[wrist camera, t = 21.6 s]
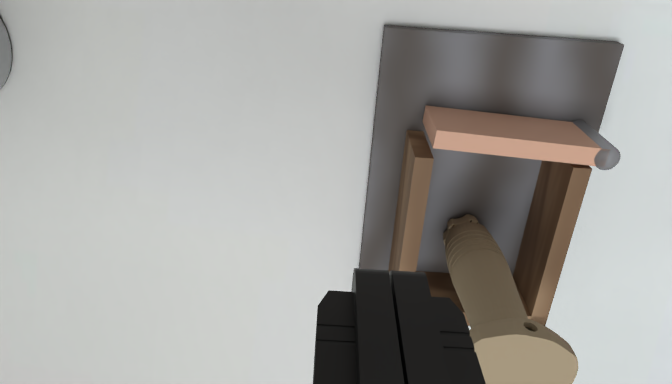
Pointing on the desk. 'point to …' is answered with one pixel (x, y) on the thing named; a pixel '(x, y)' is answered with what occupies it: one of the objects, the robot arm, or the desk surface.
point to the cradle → (475, 168)
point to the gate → (518, 137)
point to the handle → (501, 313)
